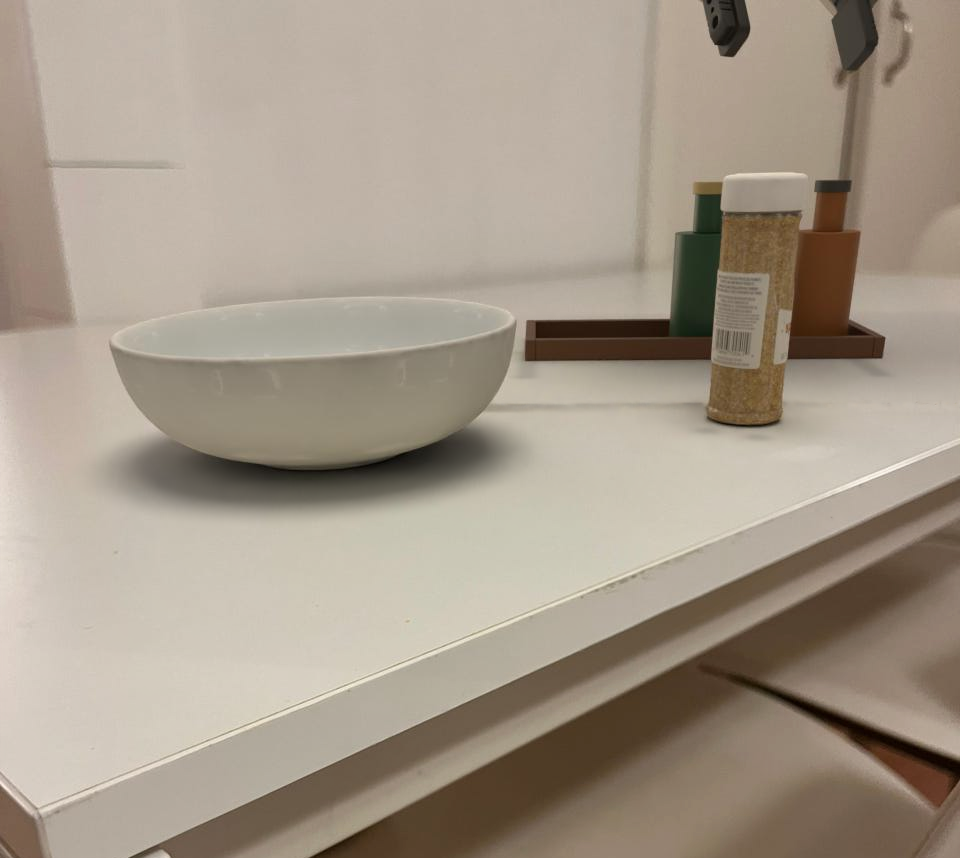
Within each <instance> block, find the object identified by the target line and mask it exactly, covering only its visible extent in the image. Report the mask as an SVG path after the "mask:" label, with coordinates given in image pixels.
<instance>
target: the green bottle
mask: <svg viewBox="0 0 960 858" xmlns="http://www.w3.org/2000/svg"><path fill="white" fill-rule="evenodd" d="M722 186H723V181H695V182H693V184H692V194H693V195H694V207H693V219H692V220H693V223H692V230H686V231H677V232H675V233H674V245H673V247H674V248H673V265H672V279H671V280H672V281H671V293H670V294H671V296H670V311H669V312H670V313H669V319H670V326H669V337H713V325H714V312H715V299H716V286H717V274H718V269H719V261H720V248H721V238H722V227H723V219H722V216H723V215H724V214H725V212H723V211H722V210H721V196H722Z"/></svg>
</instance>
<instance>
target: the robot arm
mask: <svg viewBox="0 0 960 858" xmlns="http://www.w3.org/2000/svg"><path fill="white" fill-rule="evenodd" d="M698 1H699V2H701V3H702V5H703V10H704V15H705V20H706V25H707V28H708V33H709V37H710V39H711V41H712V43H713V44H714V46H717V49H718V53H719V56H720V57H723V58H725V57H726V58H734V57H735V56H737V55H738V53H739V51H740V50H741V48H742V47H743V46H744V44H745V43H746V42H747V40H748V38H749V37H750V33H751V22H750V17H749V13H748V9H747V3H746V0H698ZM878 1H879V0H819V2H820V3H821V4H822V5H823V6H824V8H826V10H827V11H828V12H829V13H830V14H831V15H832V18H831V19H830V20H831V26H832V30H833V33H834V34H833V35H834V38H835V42H836V47H837V52H838V55H839V60H840V63H841V68H842V69H843V70H844V71H849V72H851V71H852V72H857V71H858V70H859V69H860V68H861V67H862V66H863V65H864V63H865V62H867V60H868V59H869V58H870V57H871V56H872V54H873V53H874V52H875V49H876V48H877V46H878V45H879V33H878V30H877V26H876V21H875V17H874V13H873V8H874V7H875V5H876V4H877V2H878Z"/></svg>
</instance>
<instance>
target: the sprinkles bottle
mask: <svg viewBox="0 0 960 858" xmlns="http://www.w3.org/2000/svg"><path fill="white" fill-rule="evenodd" d="M808 177H809V176H808V175H807V174H806V173H799V172H795V171H790V172H789V171H787V172H786V171H784V172H783V171H780V172H779V171H778V172H776V171H775V172H740V173H739V172H738V173H734V174H728V175H726V176H724V177H723V179H722V182H723V186H722V196H721V210H722V211H723V212H724V215H723V216H722V219H723V227H722V238H721V248H720V261H719V269H718V274H717V286H716V299H715V312H714V325H713V339H712V352H711V360H710V361H711V373H710V374H711V375H710V386H709V397H708V404H707V407H706V415H707V416H708V417H709V418H710V419H711V420H713V421H716V422H719V423H722V424H729V425H730V424H731V425H739V426H755V425H760V426H761V425H767V424H771V423H773V422H776V421H778V420H779V419H781V418H782V416H783V414H784V408H783V394H784V386H785V373H786V366H787V361H788V359H787V358H788V347H789V337H790V327H791V317H792V306H793V296H794V273H795V265H796V255H797V247H798V238H799V236H798V233H799V230H800V224H801V220H802V219H803V213H802V212H803V211H804V210H806V207H807V198H808V188H809V187H808V186H809V178H808Z"/></svg>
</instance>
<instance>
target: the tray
mask: <svg viewBox="0 0 960 858" xmlns="http://www.w3.org/2000/svg"><path fill="white" fill-rule="evenodd" d="M669 326H670V318H604V319H603V318H602V319H600V318H599V319H598V318H597V319H596V318H595V319H594V318H593V319H592V318H591V319H526V321H525V335H524V336H525V337H524V361H525V362H576V361H577V362H579V361H582V362H584V361H585V362H586V361H587V362H590V361H591V362H592V361H600V362H601V361H698V360H699V361H709V360H710V361H711V352H712V339H713V337H669ZM885 343H886V336H885V335H882V334H880V333H879V332H876V331H874V330H873V329H871V328H868V327H867V326H864V325H863V324H860V323H859V322H856V321H855V320H852V319H851V318H849V323H848V330H847V336H790V337H789V347H788V358H787V360H851V359H852V360H857V359H859V360H861V359H864V360H867V359H871V360H872V359H875V360H876V359H883V357H884V351H885Z"/></svg>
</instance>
